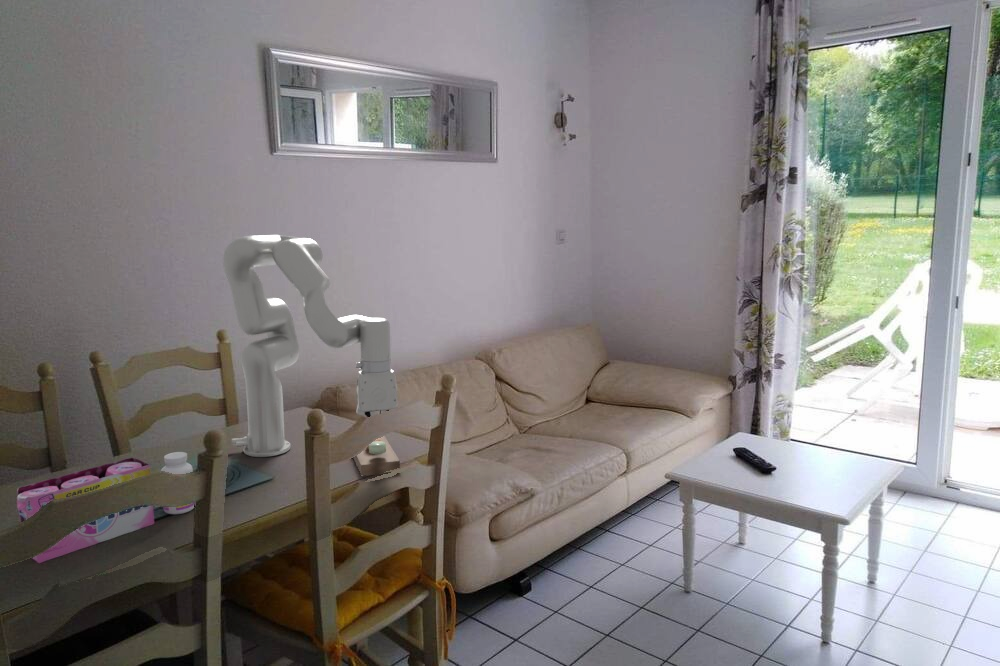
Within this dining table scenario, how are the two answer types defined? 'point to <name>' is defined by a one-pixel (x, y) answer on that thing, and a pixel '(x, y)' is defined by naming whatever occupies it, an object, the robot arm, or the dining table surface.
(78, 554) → the dining table surface
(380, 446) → the sage green button
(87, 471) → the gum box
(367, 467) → the button panel
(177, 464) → the supplement bottle
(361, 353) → the robot arm
